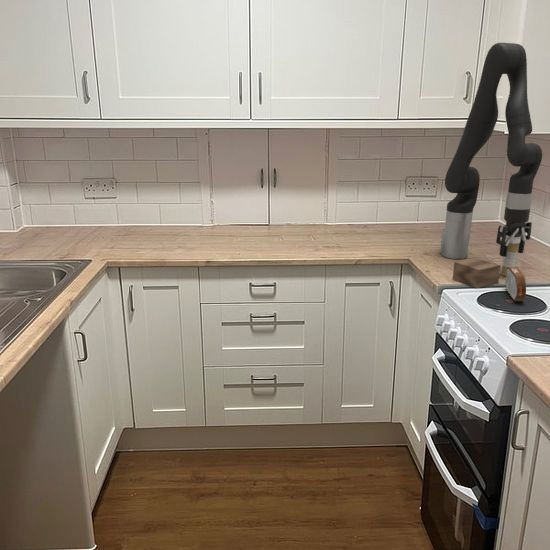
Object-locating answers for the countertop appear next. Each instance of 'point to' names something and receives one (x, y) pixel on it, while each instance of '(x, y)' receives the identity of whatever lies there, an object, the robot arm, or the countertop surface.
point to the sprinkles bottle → (511, 255)
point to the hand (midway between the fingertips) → (511, 254)
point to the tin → (516, 283)
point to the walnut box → (476, 272)
